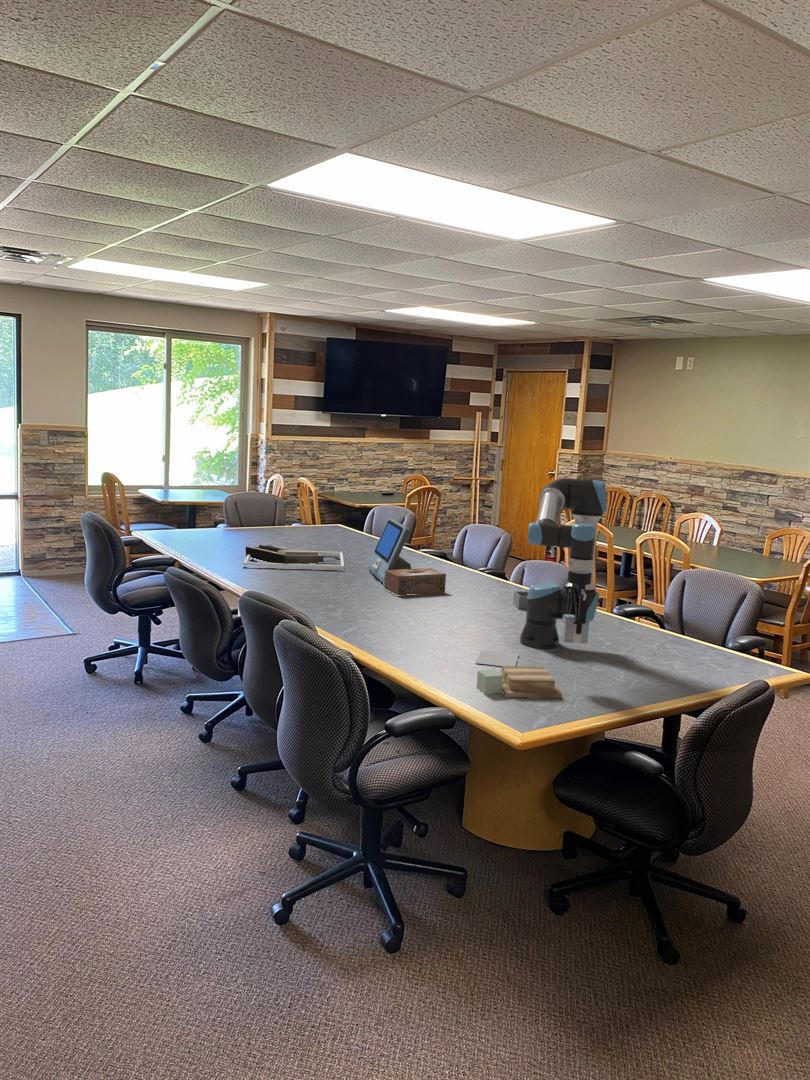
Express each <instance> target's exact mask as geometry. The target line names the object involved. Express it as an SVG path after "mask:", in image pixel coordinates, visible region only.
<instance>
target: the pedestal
mask: <svg viewBox="0 0 810 1080" xmlns="http://www.w3.org/2000/svg"><path fill="white" fill-rule="evenodd" d="M501 674H502V675H503V684H502V692H503V693H502V694H503V695H505V696H504V698H509V697H528V698H527V699H562V697H563V693H562V692H561V691H560V690H559V689H558V687H557V686H556V680H555V679H554V678H553V677H552V676H551V675H550V673H549V672H548V671H547V670H546V668H545V667H544V666H501Z"/></svg>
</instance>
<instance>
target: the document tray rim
mask: <svg viewBox="0 0 810 1080" xmlns="http://www.w3.org/2000/svg"><path fill="white" fill-rule="evenodd" d="M312 551H313V552H317V551H318V550H317V551H316V550H312ZM321 552H322V553H321ZM317 553H318V554H324V555H325V554H326V555H328V554H329V555H340V559H341V560H339V563H340V562H341V565H340V564H283V563H259V562H255V561H251V562H248V561H249V559H250V555H249V554H248V555H247V557H246V556H245V558H244V560H243V565H256V566H258V565H259V566H287V567H288V566H290V567H314V568H342V569H344V570H345V565H344V564H345V563H344V555H343V551H321V550H319V551H318V552H317Z"/></svg>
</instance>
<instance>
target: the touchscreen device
mask: <svg viewBox="0 0 810 1080" xmlns="http://www.w3.org/2000/svg"><path fill="white" fill-rule="evenodd" d="M410 529H411V528H409V527H407V526H405V525H404V524H402V523H400V522H398V521H397V520H396V519H392V518H391V517H389V518H388V519H387V521H386V524H384V528H383V530H382V532H381V535H380V536H379V539H378V542H377V543H376V545H375V548H374V550H373V553H372V556H371V558H370V561H369V565H368V571H369V570H370V571H371V572H372V573H373V574H374V575H375V576H376V577H377V578H378V579H379V580H380V581H381V582H383V583H384V584H385V570H403V569H412V567H411V563H409V561H407V560H405V559H404V558H403V557H401V556H400V555H401V553H402V551H403V548H404V545H405V544H406V541H407V539H408V537H409V535H410V531H411V530H410ZM370 571H369V572H370ZM371 572H370V573H371ZM372 573H371V574H372ZM373 574H372V575H373ZM374 575H373V576H374ZM375 576H374V577H375ZM376 577H375V578H376ZM377 578H376V579H377ZM378 579H377V580H378ZM379 580H378V581H379ZM380 581H379V582H380ZM381 582H380V583H381ZM384 584H383V585H384Z"/></svg>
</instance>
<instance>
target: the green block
mask: <svg viewBox="0 0 810 1080" xmlns="http://www.w3.org/2000/svg"><path fill="white" fill-rule="evenodd" d="M476 676H477V678H476V689H477V690H478V689H479V690H480V691H479V690H478V691H479V692H481V693H482V692H483V693H484V694H483V693H482V694H483V695H485V694H487V695H494V694H493V693H499V694H503V693H502V684H503V675H502V673H500V672H499V671H498V670H496V669H483V670H477V675H476Z"/></svg>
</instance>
